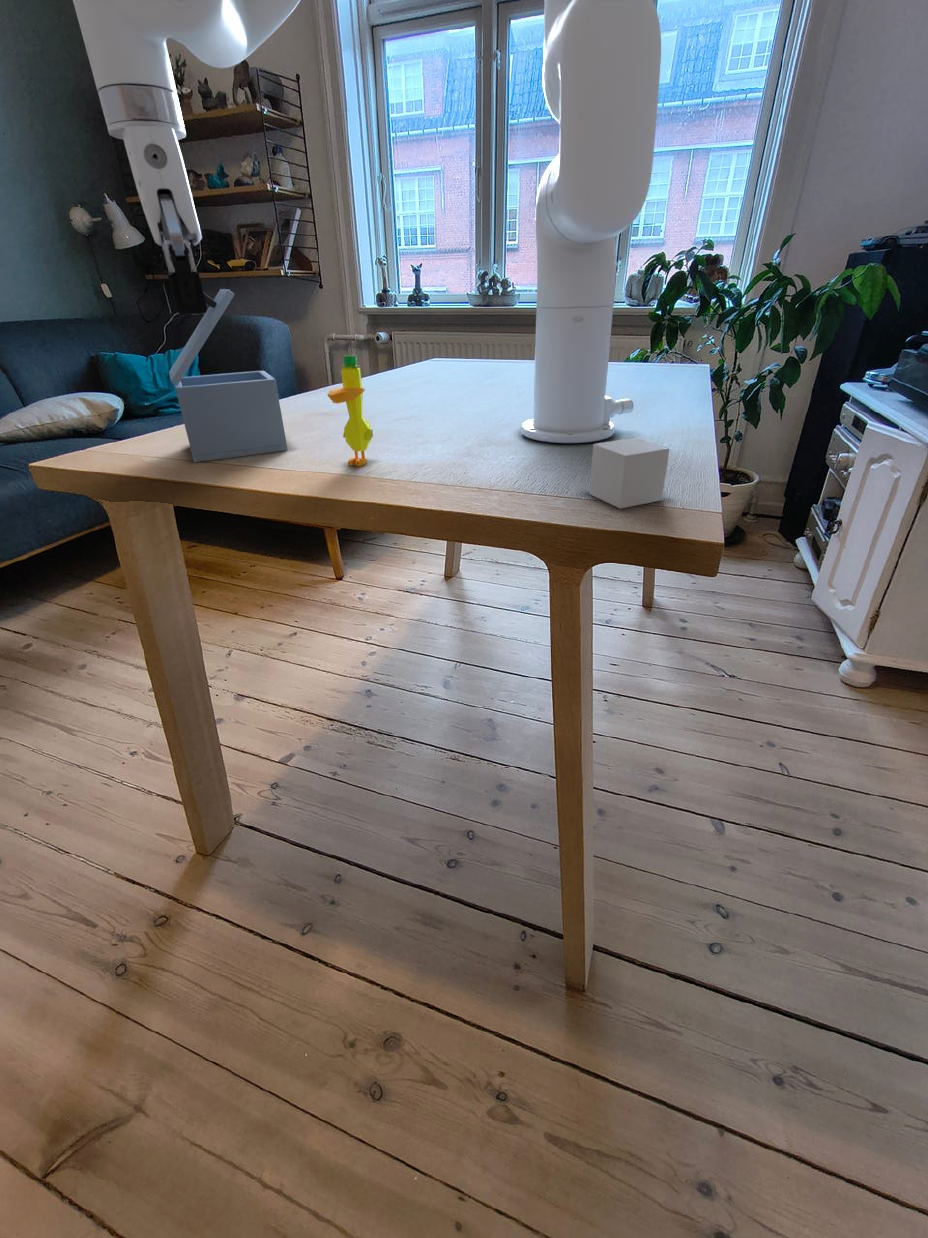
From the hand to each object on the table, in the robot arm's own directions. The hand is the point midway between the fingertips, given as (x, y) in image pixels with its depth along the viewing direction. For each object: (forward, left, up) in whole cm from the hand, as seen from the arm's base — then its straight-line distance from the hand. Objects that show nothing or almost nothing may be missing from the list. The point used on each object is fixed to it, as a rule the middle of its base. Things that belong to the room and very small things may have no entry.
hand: (191, 310), depth 71 cm
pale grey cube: (-34, +41, -17) cm, 56 cm away
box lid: (-1, 0, -3) cm, 3 cm away
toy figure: (-14, +16, -17) cm, 27 cm away
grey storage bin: (-2, 0, -17) cm, 17 cm away
